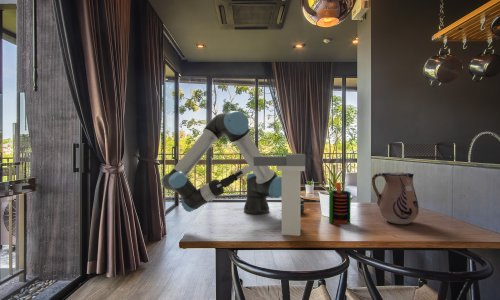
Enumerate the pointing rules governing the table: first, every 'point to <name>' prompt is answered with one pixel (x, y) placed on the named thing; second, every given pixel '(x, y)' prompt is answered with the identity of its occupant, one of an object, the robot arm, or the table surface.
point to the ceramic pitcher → (397, 197)
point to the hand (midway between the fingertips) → (252, 166)
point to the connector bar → (280, 160)
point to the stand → (291, 199)
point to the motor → (339, 206)
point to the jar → (302, 206)
